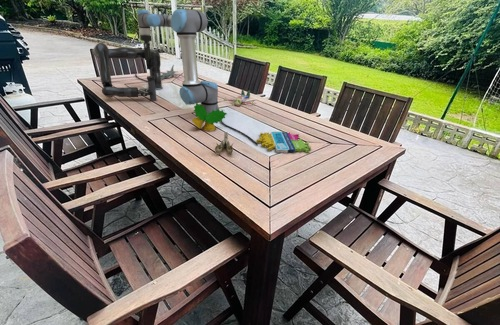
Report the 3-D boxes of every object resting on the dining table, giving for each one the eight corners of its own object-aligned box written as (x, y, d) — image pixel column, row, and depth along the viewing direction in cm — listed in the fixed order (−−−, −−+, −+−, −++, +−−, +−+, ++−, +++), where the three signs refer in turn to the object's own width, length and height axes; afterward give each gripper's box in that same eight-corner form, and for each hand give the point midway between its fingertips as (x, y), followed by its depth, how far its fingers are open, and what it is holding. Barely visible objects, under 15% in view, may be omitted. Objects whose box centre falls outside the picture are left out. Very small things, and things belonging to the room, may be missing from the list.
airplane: (149, 74, 290) (148, 65, 285) (178, 73, 303) (177, 64, 298) (156, 82, 262) (155, 72, 257) (187, 81, 275) (186, 71, 270)
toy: (261, 91, 228) (254, 99, 202) (261, 99, 231) (253, 108, 205) (231, 87, 233) (220, 95, 207) (230, 95, 236) (219, 104, 210)
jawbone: (234, 135, 144) (233, 125, 135) (233, 160, 138) (232, 151, 129) (217, 135, 144) (216, 125, 135) (216, 160, 138) (214, 150, 129)
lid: (150, 81, 197) (149, 77, 196) (145, 79, 200) (145, 76, 199) (156, 80, 202) (156, 77, 200) (151, 78, 204) (151, 75, 203)
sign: (313, 150, 142) (258, 149, 139) (312, 153, 143) (258, 152, 140) (301, 132, 164) (254, 130, 161) (301, 134, 165) (254, 133, 162)
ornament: (218, 133, 171) (224, 110, 169) (221, 134, 163) (227, 111, 161) (186, 125, 162) (192, 101, 160) (189, 126, 155) (195, 101, 153)
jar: (152, 101, 206) (149, 78, 197) (148, 100, 208) (145, 77, 199) (158, 100, 209) (155, 77, 201) (154, 99, 212) (151, 76, 203)
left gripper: (129, 89, 194) (152, 89, 198) (131, 85, 206) (153, 85, 210) (130, 99, 198) (153, 99, 202) (133, 94, 210) (154, 94, 214)
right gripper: (149, 36, 178) (153, 71, 189) (152, 34, 195) (156, 66, 206) (137, 35, 176) (142, 70, 187) (142, 33, 193) (146, 65, 205)
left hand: (153, 92), depth 206 cm, fingers open, 8 cm apart
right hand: (149, 68), depth 197 cm, fingers open, 8 cm apart
